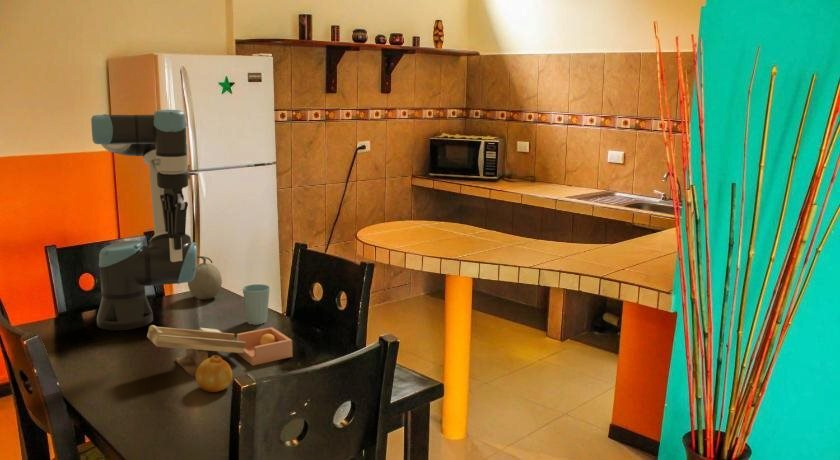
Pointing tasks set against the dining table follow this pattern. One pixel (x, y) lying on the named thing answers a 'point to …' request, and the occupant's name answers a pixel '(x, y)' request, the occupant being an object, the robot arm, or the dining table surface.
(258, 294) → the cup
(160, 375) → the dining table surface
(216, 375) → the fruit
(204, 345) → the lever
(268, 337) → the ball
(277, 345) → the dish
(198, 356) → the fulcrum
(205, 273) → the fruit
